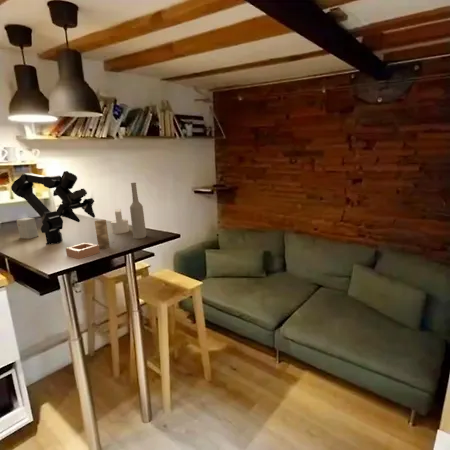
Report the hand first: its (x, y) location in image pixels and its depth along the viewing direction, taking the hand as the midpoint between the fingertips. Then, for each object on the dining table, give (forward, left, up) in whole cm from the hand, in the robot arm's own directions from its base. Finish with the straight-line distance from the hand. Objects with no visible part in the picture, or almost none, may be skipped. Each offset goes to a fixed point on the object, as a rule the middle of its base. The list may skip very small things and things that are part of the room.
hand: (87, 219), depth 159 cm
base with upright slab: (+12, +25, -14) cm, 31 cm away
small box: (-38, +34, -14) cm, 53 cm away
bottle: (+23, +8, -14) cm, 28 cm away
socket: (-1, -12, -13) cm, 18 cm away
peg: (+7, -5, -13) cm, 16 cm away
